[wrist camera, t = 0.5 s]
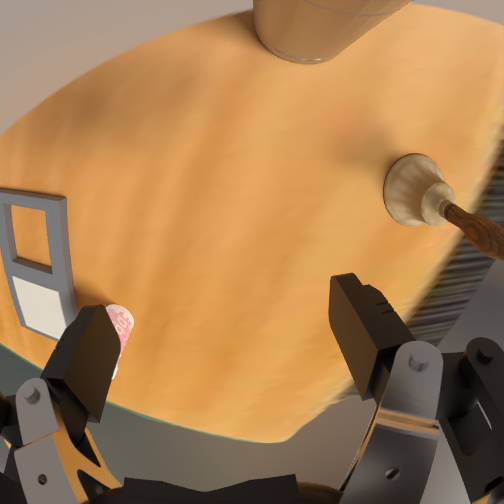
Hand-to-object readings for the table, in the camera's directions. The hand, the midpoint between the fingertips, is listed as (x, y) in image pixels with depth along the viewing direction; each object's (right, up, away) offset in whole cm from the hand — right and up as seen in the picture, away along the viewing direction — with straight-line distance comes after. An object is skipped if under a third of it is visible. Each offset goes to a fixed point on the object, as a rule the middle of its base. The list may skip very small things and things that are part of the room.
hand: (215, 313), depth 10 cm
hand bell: (+19, +9, +18) cm, 28 cm away
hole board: (-30, -1, +23) cm, 38 cm away
